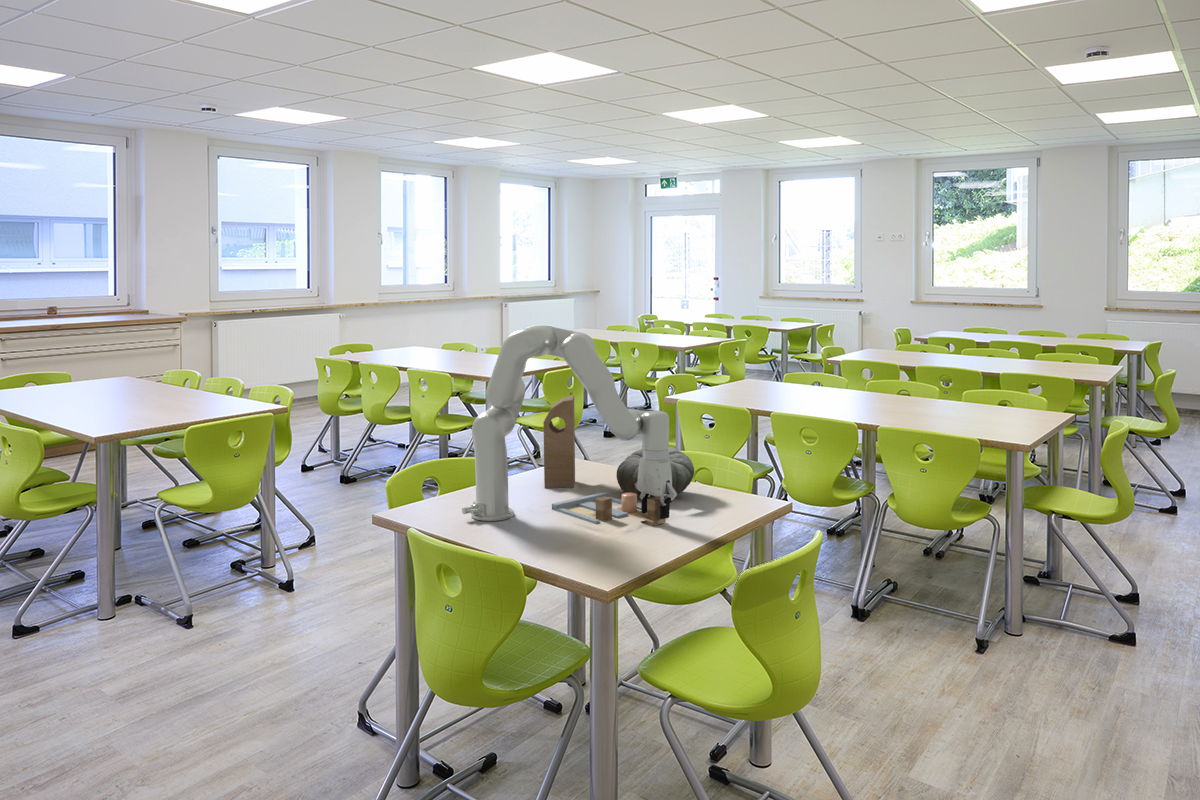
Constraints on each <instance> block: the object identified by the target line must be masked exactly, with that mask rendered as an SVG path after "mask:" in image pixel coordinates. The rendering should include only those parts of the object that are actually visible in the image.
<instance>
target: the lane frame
mask: <svg viewBox="0 0 1200 800" xmlns="http://www.w3.org/2000/svg"><path fill="white" fill-rule="evenodd" d="M600 497H609V498H612V503H615V504H619V505H622V499H620V498H617V497H613V496H610V493H609V492H607V491H602V492H597V493H592V494H589V495H585V496H581V497H580V496H579V497H575V498H572V499H567V500H562V501H559V502H555V503H551V510H552V511H554V512H558V513H562V514H565V515H567V516H570V517H573V518H577V519H579V520H582V521H586V522H588V523H591V524H595V525H596V524H600V523H601V522H600V520H598V519H594V518H591V517H588V516H589V515H593V514H596V498H600ZM637 510H640V511H641V504H637ZM628 516H629V515H628V513H626V512H623V511H620V510H617V508H613V507H612V518H613V519H620V518H624V517H628Z"/></svg>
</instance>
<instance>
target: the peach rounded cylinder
mask: <svg viewBox="0 0 1200 800" xmlns="http://www.w3.org/2000/svg"><path fill="white" fill-rule="evenodd" d="M621 500H622V504H621V507H622V511H623V512H626V513H635V512H637V510H638V509H637V505H638V498H637V494H636V493H624V492H623V493H621Z"/></svg>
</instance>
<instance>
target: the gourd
mask: <svg viewBox="0 0 1200 800" xmlns="http://www.w3.org/2000/svg"><path fill="white" fill-rule="evenodd" d="M641 450H642V448H641V449H637V450H635V451H634V452H632V453H631V454H630V455H628V456H627V457H626V458H625V459H624V460H623V461H622V462H621V463H620V464H619V465H618V467H617V469H616V480H617V484H618V486H619V487H620V490H621V491H622V492H623V493H636V494H637V500H641V499H640V495H639V493H638V490H637V488H636V487H635V483H636V482H637V481H638V469H639V463H640V459H641V458H642V451H641ZM669 461H670V465H671V473H672V487H673V488H674V490H675V491H676V493H677V496H679V495H680V494H681V493H683V492H684V491H685V490H686V489H687V487H689V485H690V484H691V482H692V481H693V478H694V475H695V468H694V464H693V461H692V460H691V458H690V457H689V456H688V455H686V454H685V453H684V452H683V451H680V449H678V448H677V447H672V446H671V447H670V446H669ZM669 495H670V494H669ZM652 497H657V496H653V495H650V496H649V498H652ZM664 499H665V500H666V498H665V496H664Z"/></svg>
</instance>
